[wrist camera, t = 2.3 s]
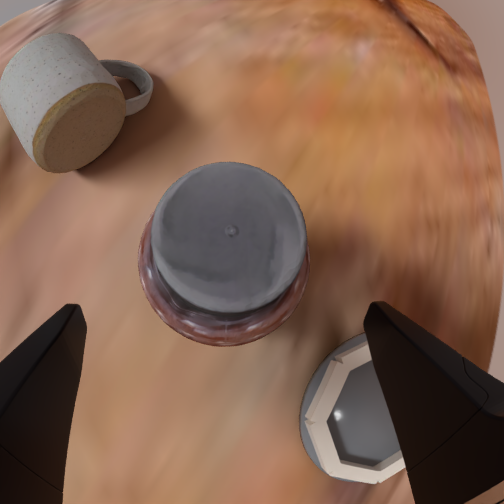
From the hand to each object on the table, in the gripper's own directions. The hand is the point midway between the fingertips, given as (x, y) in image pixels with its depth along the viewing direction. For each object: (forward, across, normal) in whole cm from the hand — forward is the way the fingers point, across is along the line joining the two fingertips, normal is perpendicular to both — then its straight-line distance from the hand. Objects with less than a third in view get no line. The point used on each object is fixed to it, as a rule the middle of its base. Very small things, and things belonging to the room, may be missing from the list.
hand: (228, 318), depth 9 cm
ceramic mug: (+17, +10, -3) cm, 20 cm away
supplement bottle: (+8, 0, +5) cm, 10 cm away
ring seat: (+2, -10, +11) cm, 15 cm away
